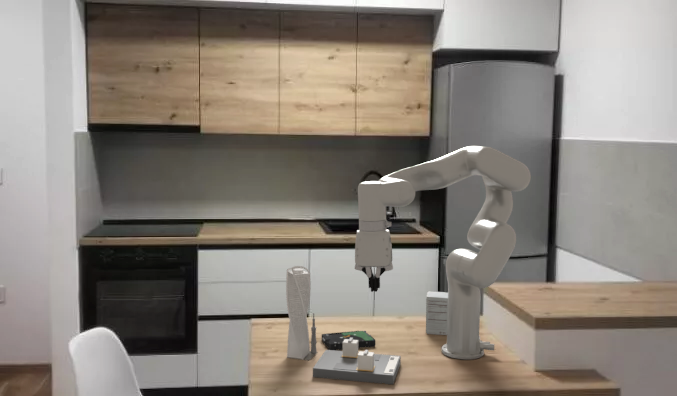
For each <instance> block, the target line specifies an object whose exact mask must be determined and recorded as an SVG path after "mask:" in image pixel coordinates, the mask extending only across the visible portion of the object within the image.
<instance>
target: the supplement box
mask: <svg viewBox="0 0 677 396" xmlns="http://www.w3.org/2000/svg"><path fill="white" fill-rule="evenodd" d="M425 300H426V303H425V304H426V305H425V306H426V307H425V310H426V311H425V334H426V333H427V335H439V336H447V316H448V291H447V292H444V291H429V290H428V291H427V293H426V299H425Z"/></svg>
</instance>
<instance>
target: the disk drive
mask: <svg viewBox="0 0 677 396" xmlns="http://www.w3.org/2000/svg"><path fill="white" fill-rule="evenodd" d="M350 337H351V338H353V340H358V349H363V348H365V349H366V348H374V347H376V338H375V337H373V336H372V335H371V334H369V333H368V332H367V331H366V330H354V331H353V330H351V331H343V332H330V333H322V334H321V342H322V343H323V344H324V345H325V347H326V348H327V350H336V351H343V341H344V339H350Z"/></svg>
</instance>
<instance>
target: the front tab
mask: <svg viewBox="0 0 677 396" xmlns="http://www.w3.org/2000/svg"><path fill="white" fill-rule="evenodd" d="M358 352H359V353H358V368H357V369H360V370H371V371H372V370H373V368H374V354H375V352H374V351H369V349H365V350H364V351H362V350H359V351H358Z"/></svg>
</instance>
